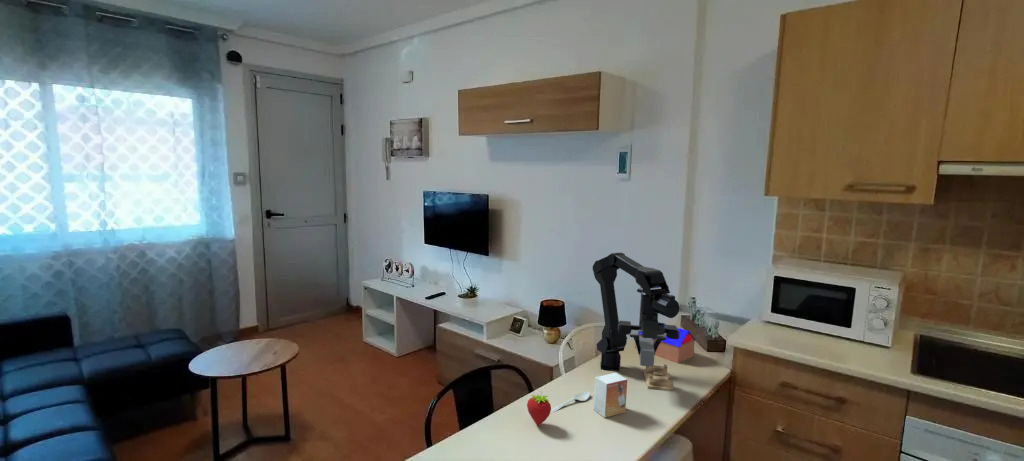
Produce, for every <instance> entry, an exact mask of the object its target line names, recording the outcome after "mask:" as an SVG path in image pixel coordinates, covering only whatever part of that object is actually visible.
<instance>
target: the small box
mask: <svg viewBox="0 0 1024 461" xmlns="http://www.w3.org/2000/svg"><path fill="white" fill-rule="evenodd" d="M627 391H628V379H627V378H626V377H624V376H623V375H621V374H619V373H618V372H613V373H608V374H604V375H599V376H595V377H594V394H593V411H595V412H596V413H597V414H599V415H600V416H601V417H602V418H605V419H606V418H609V417H612V416H616V415H620V414H625V413H626V408H627Z"/></svg>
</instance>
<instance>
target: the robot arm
mask: <svg viewBox="0 0 1024 461" xmlns="http://www.w3.org/2000/svg"><path fill="white" fill-rule="evenodd" d="M618 270H622V271H624V272H625V273H627V274H629V275H630V276H632V277H633V279H635V283H636V284H638V286H639V288H637V289H636V292H637V293H639V294H640V306H639V318H638V319H639V323H638V324H637V325H636V324H632V323H631V321H628V320H627V321H626V320H619V313H618V306H617V299H616V289H615V281H616V278H617V276H618ZM592 271H593V276H594V278H595V280H596V281H597V283H598V284H599V286H600V294H601V296H600V297H601V304H602V309H603V310H602V311H603V319H604V326H603V328H602V331H601V339H600V340H599V341H598V342H597V343H596V349H597V350H596V351H598V352H600V353H601V354H600V357H601V358H600V364H599V366H600V369H601V370H607V371H620V367H621V358H622V355H621V353H620V352H624V351H625V348H626V345H627V342H628V336H627V335H629V338H632V339H633V340H634V344H635V343H636V346H637V349H636V350H637V354H638V356H639V355H640V340H639V332H641V335H642V337H643V338H653V339H654V343H653V346H654V351H655V352H656V350H657V348H658V346H659V344H660V343H661V342H662V341H663V340H666V336H667V337H668V338H669V339H679V330H678V328H679V327H677V326H676V325H674V324H666V323H664V322H660V323H658V322H659V315H662V316H664V317H666V318H669V319H674V318H675V317H677V315H678V314H679V312H680V309H681V308H680V307H681V306H680V303H679V302H678V301H677V300H676V296H675V295H673V294H670V293H671V291H670V289H669V286H668V284H667V281H666V279H665V276H664V273H663V271H661V270H660V269H656V268H653V267H648V266H644V265H642V264H641V263H639V262H638V261H635V260H634V259H632V258H631V257H629V256H627V255H626V254H625V253H624V252H611V253H610V254H608V255H607V256H605V257H602V258H600V259H598V260H595V262H594V263H593V264H592ZM665 324H666V325H665ZM654 354H655V353H654Z"/></svg>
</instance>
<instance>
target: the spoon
mask: <svg viewBox="0 0 1024 461" xmlns="http://www.w3.org/2000/svg"><path fill="white" fill-rule="evenodd" d="M590 394H591V393H590V392H589V391H583V392H580V393H578V394H575V395H574V396H573V397H571V398H569V399H568V400H567V401H565V402H562V403H560V404H558V405H555V406H554V407H553V408H552V407H551V412H550V414H553V413H555V412H557V411H559V410H560V409H561V408H563V407H564V406H565V405H567V404H569V403H570V402H572V401H574V400H577V401H580V402H585V401H587V400H588V399H589V398H590V396H591V395H590ZM580 398H582V399H580Z"/></svg>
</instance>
